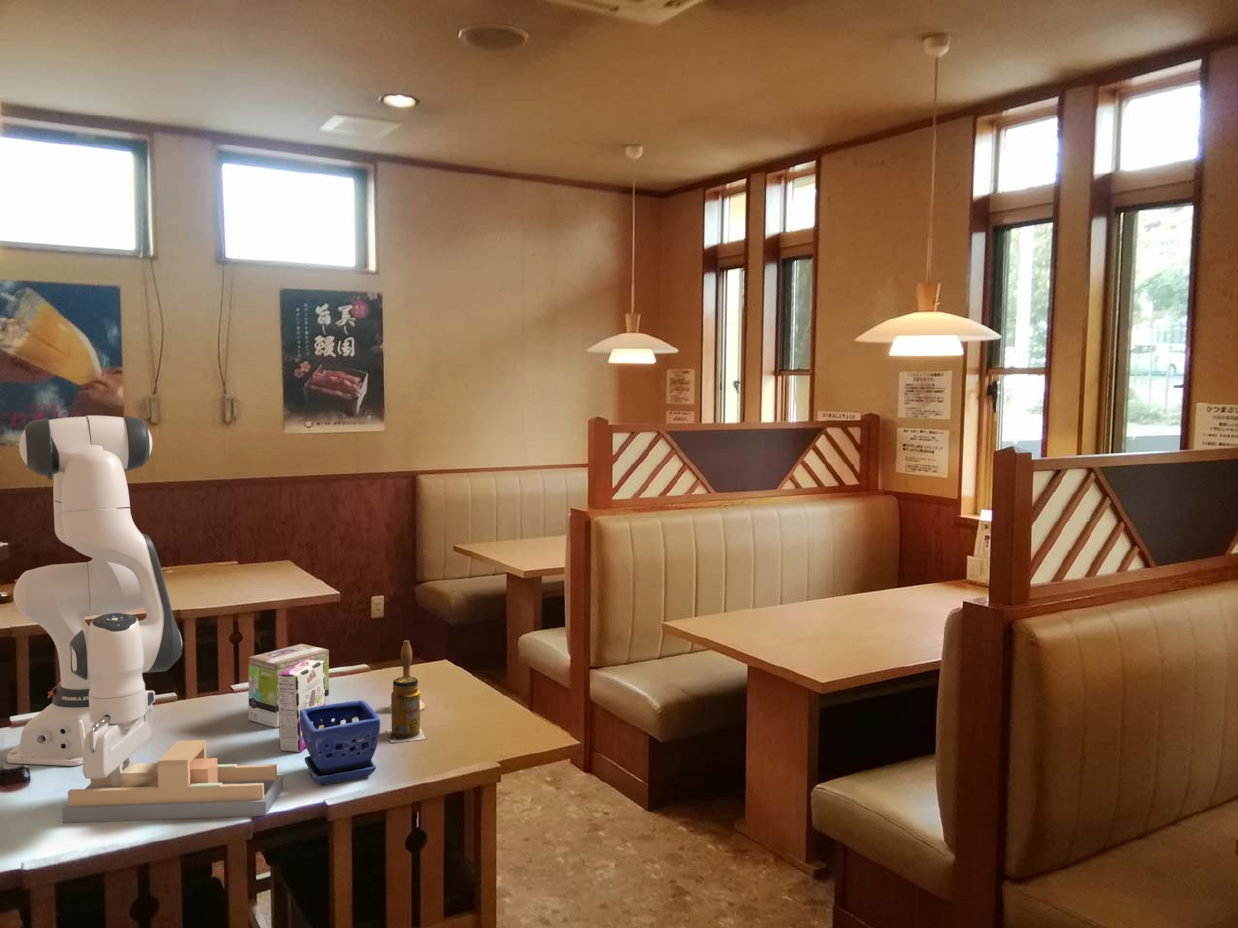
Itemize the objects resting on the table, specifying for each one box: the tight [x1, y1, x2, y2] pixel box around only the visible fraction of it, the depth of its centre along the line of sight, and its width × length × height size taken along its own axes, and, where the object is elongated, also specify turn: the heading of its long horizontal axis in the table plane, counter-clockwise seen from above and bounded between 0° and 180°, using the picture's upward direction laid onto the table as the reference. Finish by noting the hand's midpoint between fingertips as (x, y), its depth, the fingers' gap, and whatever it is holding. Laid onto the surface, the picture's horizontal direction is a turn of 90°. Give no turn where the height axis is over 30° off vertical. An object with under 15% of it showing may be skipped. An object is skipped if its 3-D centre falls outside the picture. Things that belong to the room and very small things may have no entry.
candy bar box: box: [277, 660, 325, 753], centre depth 200 cm, size 11×5×16 cm, turn 168°
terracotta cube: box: [190, 757, 219, 785], centre depth 170 cm, size 5×5×5 cm
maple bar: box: [120, 762, 158, 788], centre depth 170 cm, size 10×4×4 cm, turn 95°
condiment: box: [386, 676, 427, 743], centre depth 205 cm, size 7×8×12 cm
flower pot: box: [300, 699, 381, 785], centre depth 185 cm, size 13×13×12 cm
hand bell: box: [388, 639, 426, 712], centre depth 223 cm, size 8×8×16 cm
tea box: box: [248, 643, 330, 729], centre depth 218 cm, size 15×10×15 cm
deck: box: [61, 739, 284, 824], centre depth 170 cm, size 34×12×10 cm, turn 95°
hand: (120, 783), depth 169 cm, fingers closed, pressing on maple bar
